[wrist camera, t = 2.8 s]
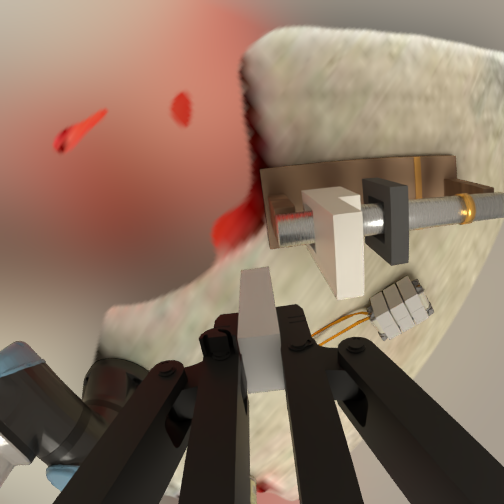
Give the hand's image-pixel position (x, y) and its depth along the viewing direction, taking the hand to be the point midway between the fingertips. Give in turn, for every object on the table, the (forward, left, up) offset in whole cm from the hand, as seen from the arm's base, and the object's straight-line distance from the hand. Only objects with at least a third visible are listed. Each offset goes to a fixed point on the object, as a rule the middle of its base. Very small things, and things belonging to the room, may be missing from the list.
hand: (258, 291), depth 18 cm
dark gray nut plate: (+13, 0, -16) cm, 20 cm away
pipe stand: (+16, 0, -24) cm, 29 cm away
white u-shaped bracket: (+7, 0, -15) cm, 17 cm away
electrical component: (+13, -20, -25) cm, 34 cm away
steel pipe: (+16, 0, -14) cm, 21 cm away
